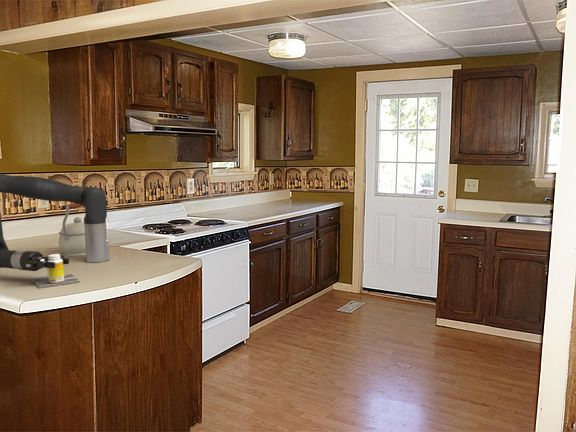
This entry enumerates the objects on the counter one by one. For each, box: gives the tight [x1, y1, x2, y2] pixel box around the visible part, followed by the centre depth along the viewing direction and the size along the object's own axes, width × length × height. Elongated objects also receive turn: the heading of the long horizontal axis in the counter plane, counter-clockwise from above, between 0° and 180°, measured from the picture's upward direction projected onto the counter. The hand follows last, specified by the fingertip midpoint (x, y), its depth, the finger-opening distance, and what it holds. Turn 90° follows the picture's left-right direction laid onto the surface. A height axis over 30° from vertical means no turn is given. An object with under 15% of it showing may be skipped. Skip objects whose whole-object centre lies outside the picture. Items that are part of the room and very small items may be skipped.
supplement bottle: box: [46, 253, 66, 283], centre depth 191 cm, size 6×6×10 cm
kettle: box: [58, 202, 86, 257], centre depth 251 cm, size 25×18×25 cm
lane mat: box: [32, 273, 81, 289], centre depth 195 cm, size 14×14×1 cm
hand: (61, 263), depth 190 cm, fingers open, 6 cm apart
